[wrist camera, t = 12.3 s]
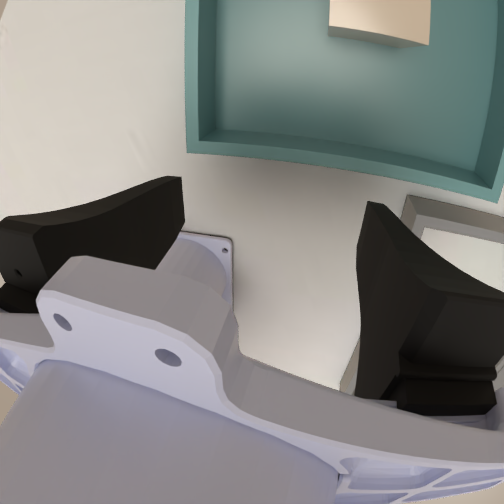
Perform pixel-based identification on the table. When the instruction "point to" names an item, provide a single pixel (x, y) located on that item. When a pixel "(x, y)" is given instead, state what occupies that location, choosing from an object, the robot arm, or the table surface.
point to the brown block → (381, 21)
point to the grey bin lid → (499, 379)
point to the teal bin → (349, 92)
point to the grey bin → (444, 219)
